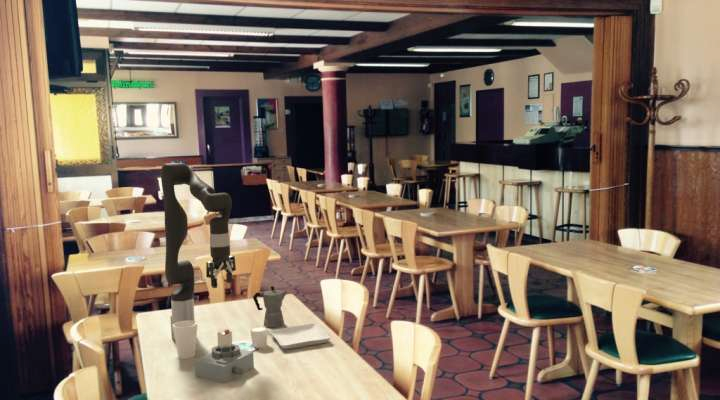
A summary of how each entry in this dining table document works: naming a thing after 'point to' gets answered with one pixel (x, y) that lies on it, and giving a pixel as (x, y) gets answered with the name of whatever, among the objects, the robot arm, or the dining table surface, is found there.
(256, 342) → the cream short cylinder
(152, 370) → the dining table surface
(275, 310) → the coffeepot
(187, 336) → the foam cup
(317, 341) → the salad plate
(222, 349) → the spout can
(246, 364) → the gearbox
